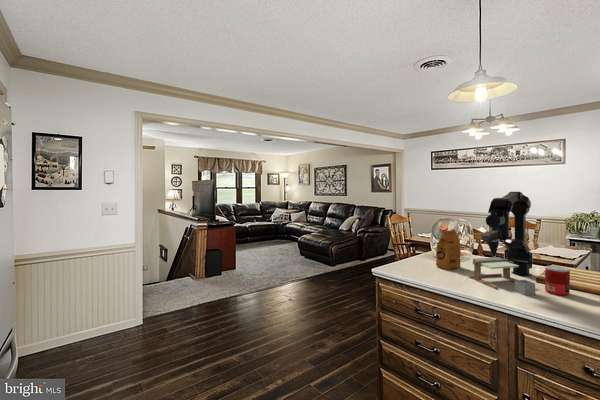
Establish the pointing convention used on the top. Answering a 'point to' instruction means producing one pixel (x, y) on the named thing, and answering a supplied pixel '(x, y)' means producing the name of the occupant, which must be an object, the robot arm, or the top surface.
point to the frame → (478, 276)
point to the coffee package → (448, 250)
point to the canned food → (557, 280)
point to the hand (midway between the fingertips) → (501, 258)
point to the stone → (524, 287)
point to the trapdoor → (495, 263)
